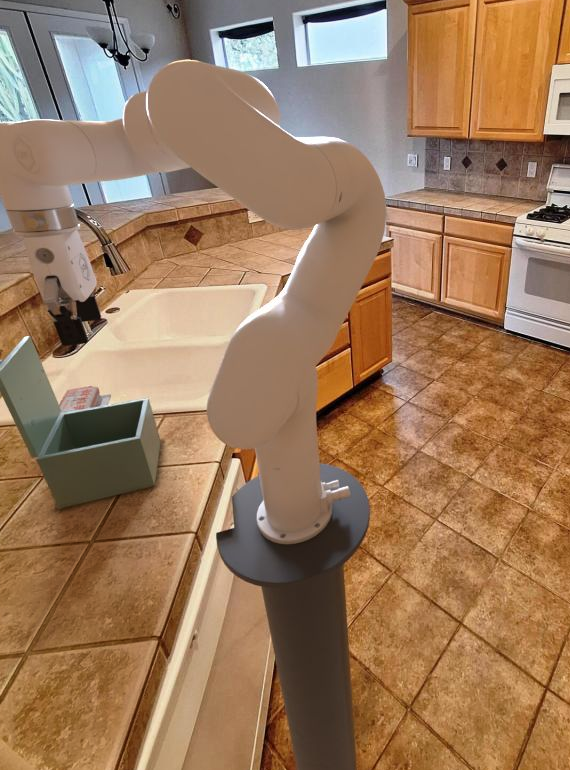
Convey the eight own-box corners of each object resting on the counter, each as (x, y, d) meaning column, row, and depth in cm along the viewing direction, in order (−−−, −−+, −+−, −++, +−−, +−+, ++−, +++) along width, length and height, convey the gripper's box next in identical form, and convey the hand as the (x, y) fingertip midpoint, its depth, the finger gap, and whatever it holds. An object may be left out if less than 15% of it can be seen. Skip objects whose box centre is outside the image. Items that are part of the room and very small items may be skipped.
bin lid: (30, 335, 73) (-5, 340, 71) (-2, 373, 61) (-45, 379, 60) (61, 410, 79) (30, 416, 78) (37, 456, 68) (0, 464, 66)
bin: (161, 441, 89) (148, 397, 85) (154, 485, 78) (139, 438, 73) (78, 458, 84) (59, 413, 79) (58, 509, 73) (35, 459, 68)
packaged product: (56, 388, 98) (106, 381, 101) (62, 406, 100) (112, 398, 103) (27, 435, 83) (88, 424, 86) (36, 454, 85) (95, 443, 88)
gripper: (59, 229, 54) (100, 350, 62) (90, 210, 69) (119, 309, 76) (-15, 234, 52) (36, 359, 59) (33, 213, 66) (69, 315, 73)
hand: (83, 331), depth 68 cm, fingers open, 9 cm apart
